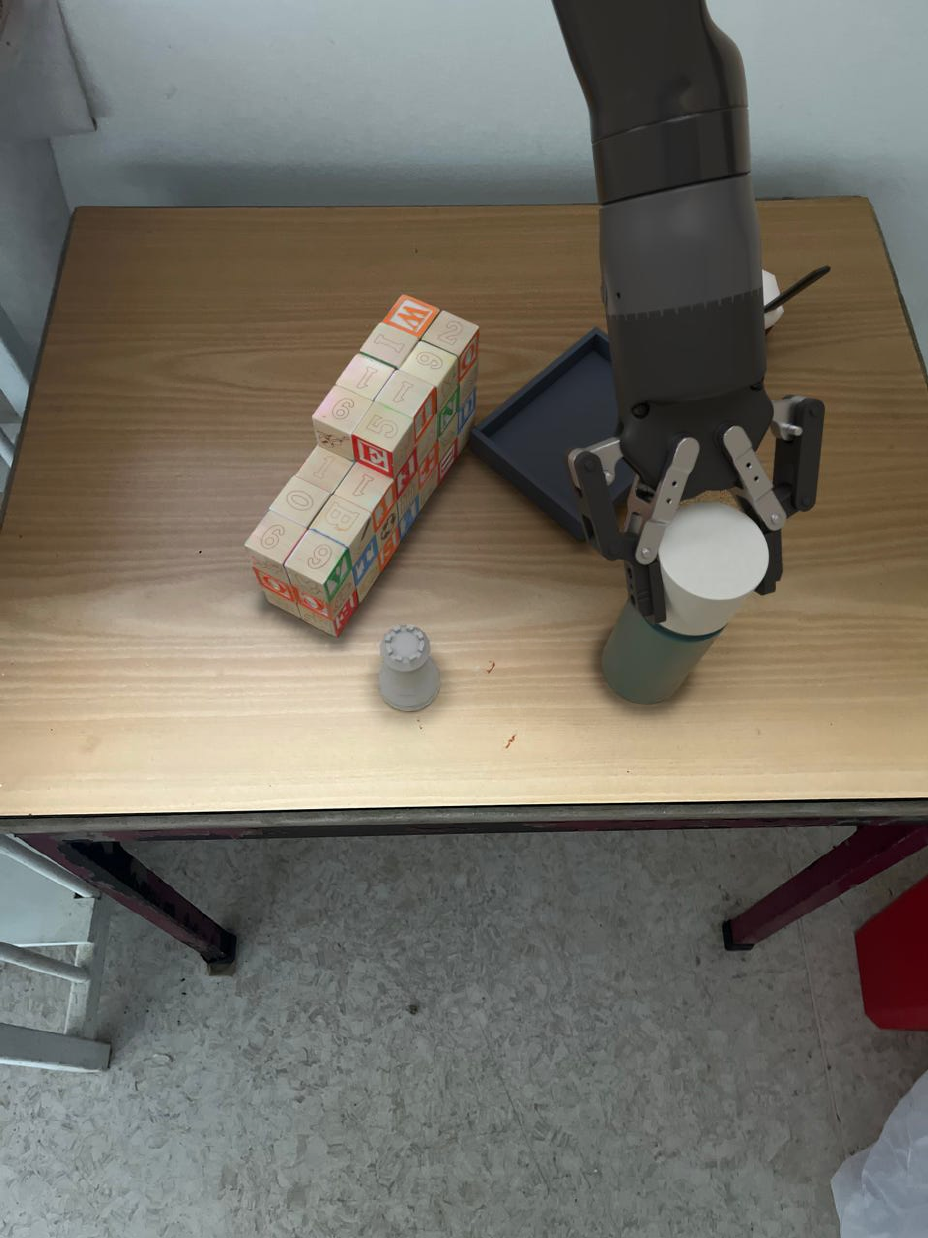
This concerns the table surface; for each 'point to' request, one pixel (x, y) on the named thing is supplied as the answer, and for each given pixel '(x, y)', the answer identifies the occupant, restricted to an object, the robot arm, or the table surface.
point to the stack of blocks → (369, 464)
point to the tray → (556, 430)
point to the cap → (709, 566)
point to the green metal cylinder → (650, 657)
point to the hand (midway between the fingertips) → (707, 603)
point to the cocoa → (783, 294)
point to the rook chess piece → (407, 669)
